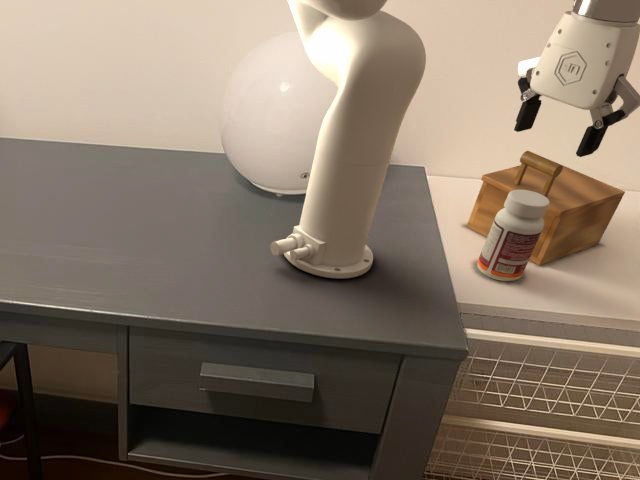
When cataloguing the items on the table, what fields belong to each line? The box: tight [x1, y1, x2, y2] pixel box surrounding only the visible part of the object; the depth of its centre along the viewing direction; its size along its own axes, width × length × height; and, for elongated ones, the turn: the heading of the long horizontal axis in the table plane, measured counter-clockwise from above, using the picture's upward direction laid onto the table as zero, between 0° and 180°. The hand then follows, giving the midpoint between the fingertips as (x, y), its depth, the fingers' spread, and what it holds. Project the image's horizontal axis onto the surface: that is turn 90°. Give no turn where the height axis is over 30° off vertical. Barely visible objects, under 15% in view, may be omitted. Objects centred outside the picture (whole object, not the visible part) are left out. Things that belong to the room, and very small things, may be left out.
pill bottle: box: [476, 190, 549, 282], centre depth 102 cm, size 6×6×11 cm
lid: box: [480, 150, 626, 217], centre depth 108 cm, size 15×13×6 cm
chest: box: [466, 181, 623, 266], centre depth 112 cm, size 15×13×8 cm
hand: (552, 141), depth 102 cm, fingers open, 9 cm apart
